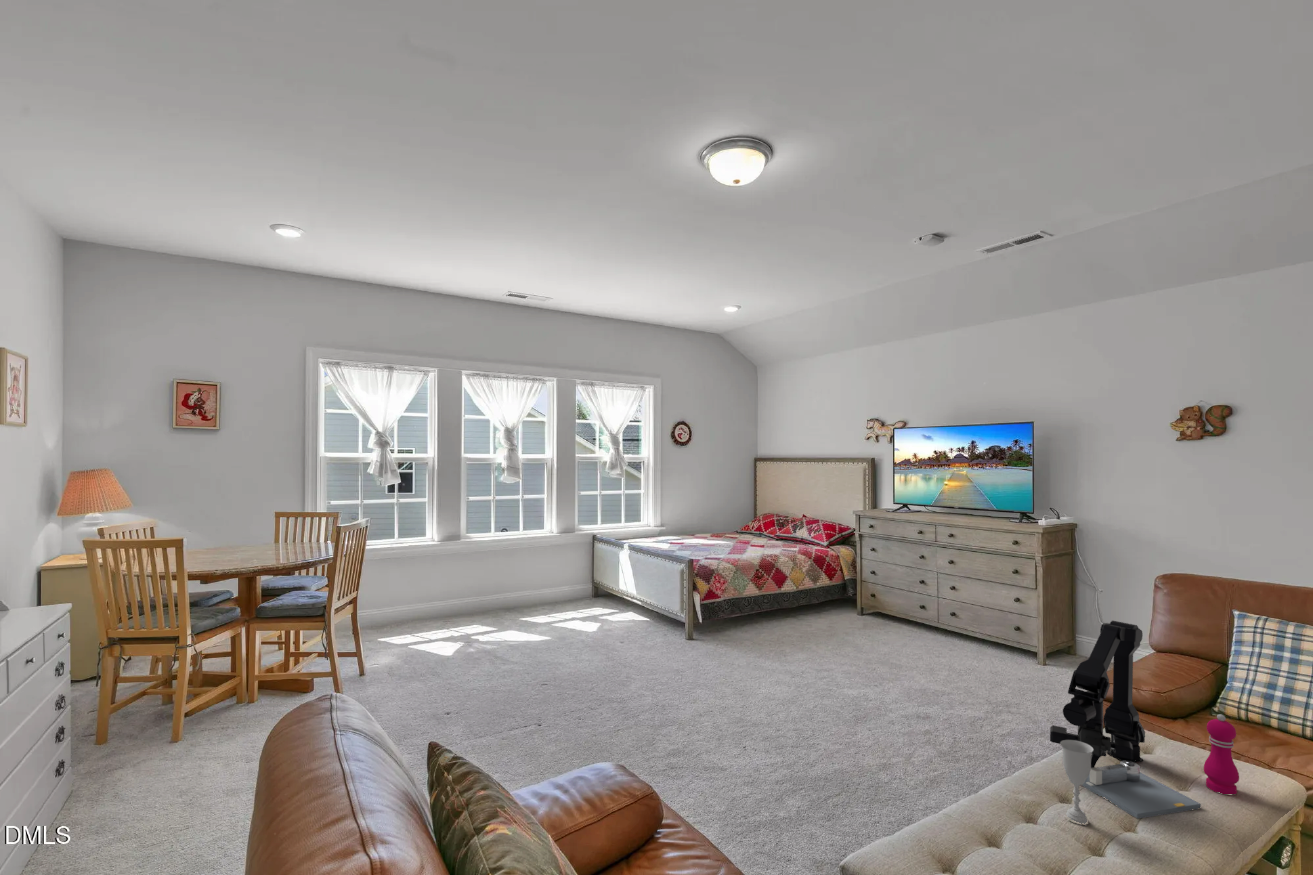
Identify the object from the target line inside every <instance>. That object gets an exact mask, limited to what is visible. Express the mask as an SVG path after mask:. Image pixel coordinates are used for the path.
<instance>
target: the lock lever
mask: <svg viewBox="0 0 1313 875" xmlns="http://www.w3.org/2000/svg"><path fill="white" fill-rule="evenodd" d="M1119 761H1120V762H1119V764H1111V765H1104V766H1095V767H1094V768H1091V771H1090V782H1092V783H1093V784H1095V785H1100V784H1104V783H1111V782H1118V781H1124V780H1129V781H1133V782H1138V781H1140V772H1141V766H1140V765H1139V764H1138V763H1137V762H1132V761H1121V760H1119Z"/></svg>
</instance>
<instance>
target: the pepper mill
mask: <svg viewBox="0 0 1313 875" xmlns="http://www.w3.org/2000/svg"><path fill="white" fill-rule="evenodd" d="M1206 731H1207V732H1208V734H1209V736H1208V741H1209V743H1210V745H1211V746H1210V753H1209V755H1208V756H1207V758H1206V760H1205V761H1204V764H1203V772H1204V774H1205V775H1206V776H1207V777H1206V778H1205V786H1206V787H1207V789H1209V790H1211V791H1212V790H1213V791H1212V792H1215V793H1217V792H1220V793H1222V794H1221V795H1224V794H1236V793H1237V794H1238V786H1237V785H1236V784H1237V783H1238V782H1239V781H1240V773H1239V771H1238V768H1237V766H1236V764H1235V762H1234V760H1233V756H1232V749H1233V748H1234V745H1235V744H1234V739H1235V738H1236V737H1237V730H1236V728H1235V726H1234V725H1233V724H1232V723H1230V722H1229V721H1227V720H1226V716H1225V715H1224V714H1217V715H1216V718H1213V719H1210V720H1208V722H1207V723H1206ZM1220 793H1219V794H1220ZM1237 794H1236V795H1237Z"/></svg>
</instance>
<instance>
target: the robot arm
mask: <svg viewBox="0 0 1313 875" xmlns="http://www.w3.org/2000/svg"><path fill="white" fill-rule="evenodd" d="M1099 632H1100V633H1099V635H1098V638H1097V640H1096V642H1095V644H1094V646H1093V648H1092V650H1091V652H1090V655H1089V657H1088V659H1086V660H1084V661H1082V662H1080V663H1079V664H1078V665H1077V668H1076V669H1075V670H1074V671H1073V673H1072V676H1071V680H1070V683H1069V687H1068V690H1067V694H1068V695H1071V696H1073V697H1072V698H1070V702H1067V703H1066V704H1065V705H1064V706H1063V708H1062V715H1063V716H1064V717H1063V718H1064V719H1065V720H1066V721H1067V722H1068V723H1070V724H1071V725H1072V726H1074V727H1075V726H1076V727H1077V733H1070V732H1068V731H1067V727H1062V726H1058V725H1051V726H1050V727H1049V728H1050V730H1049V741H1050V742H1051V743H1054V744H1057V745H1058V744H1059V745H1061V744H1060V742H1061V741H1063V740H1075V741H1080V742H1083V743H1086V744H1088V745H1090V746H1091V747H1092V748H1093V752H1092V753H1091V768H1094V767H1096V764H1097V763H1098V761H1099V759H1100V758H1101V757H1106V756H1107V755H1110V756H1111V757H1113V758H1115V759H1117V760H1119V761H1132V762H1134V763H1139V762H1143V761H1144V758H1142V757H1141V746H1140V743H1141V744H1142V743H1145V742H1146V740H1145V739H1146V731H1145V729H1144V727H1143V724H1142V723H1141V721H1140V714H1139V712H1138V711H1137V708H1136V707H1135V706H1134V704H1133V690H1134V689H1133V685H1134V683H1133V682H1134V681H1133V680H1134V678H1133V677H1134V676H1133V675H1134V654H1135V652H1136V651H1137V650H1138V649H1139V647H1140V646H1141V642H1142V640H1143V631H1142V629H1141V628H1139V626H1138V625H1137V624H1132V623H1128V622H1124V621H1123V622H1122V621H1117V620H1111V621H1110V622H1109V623H1108V622H1103V623H1102V624H1101V625H1100V631H1099ZM1112 660H1113V663H1111V662H1112ZM1110 664H1113V669H1112V670H1113V671H1112V672H1113V674H1112V701H1111V703H1110V704H1109V705H1108V706H1107V707H1106V709H1105V710H1104V700H1106V697H1107V695H1108V692H1109V688H1110V687H1111V685H1110V684H1111V683H1110V678H1109V675H1108V670H1109V667H1110ZM1104 711H1105V713H1104ZM1104 731H1105V734H1110V737H1109V736H1106V735H1104Z"/></svg>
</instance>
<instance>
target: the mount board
mask: <svg viewBox="0 0 1313 875" xmlns="http://www.w3.org/2000/svg"><path fill="white" fill-rule="evenodd" d="M1081 786H1082V787H1083V788H1085V789H1087V790H1089V791H1090V792H1092V793H1093V794H1096V795H1097V794H1098V795H1097V796H1098V797H1100V796H1102V797H1105V798H1106V799H1108V800H1109V801H1111V802H1112V803H1114V804H1115V805H1117V806H1118V807H1117V806H1116V807H1117V808H1119V809H1120V810H1122V811H1124V812H1125V813H1127V814H1129V815H1131V816H1132V817H1133V818H1135V819H1138V820H1139V819H1143V818H1149V817H1150V818H1151V817H1156V816H1161V815H1169V814H1174V813H1175V814H1176V813H1181V812H1182V813H1183V812H1187V811H1188V810H1189V811H1193V810H1192V809H1195V810H1199V809H1198V808H1200V807H1201V806H1202V804H1201V803H1199V802H1198V801H1196V800H1194V799H1193V798H1190V797H1188V796H1187V795H1185V794H1182V793H1180V791H1177V790H1175V789H1173V788H1171V787H1169V786H1167V785H1165V784H1163V783H1161V782H1160V781H1158V780H1156V779H1154V778H1152V777H1150V776H1149V775H1146V774H1144V773H1142V772H1141V771H1140V781H1138V782H1133V781H1129V780H1124V781H1118V782H1111V783H1104V784H1100V785H1095V784H1093V783H1092V782H1090V773H1089V775H1088V777H1087V779H1086V781H1085V782H1084V784H1083V785H1081ZM1102 797H1101V798H1102ZM1109 801H1108V802H1109ZM1112 803H1111V804H1112ZM1114 804H1113V805H1114ZM1115 805H1114V806H1115ZM1201 808H1202V807H1201Z"/></svg>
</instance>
